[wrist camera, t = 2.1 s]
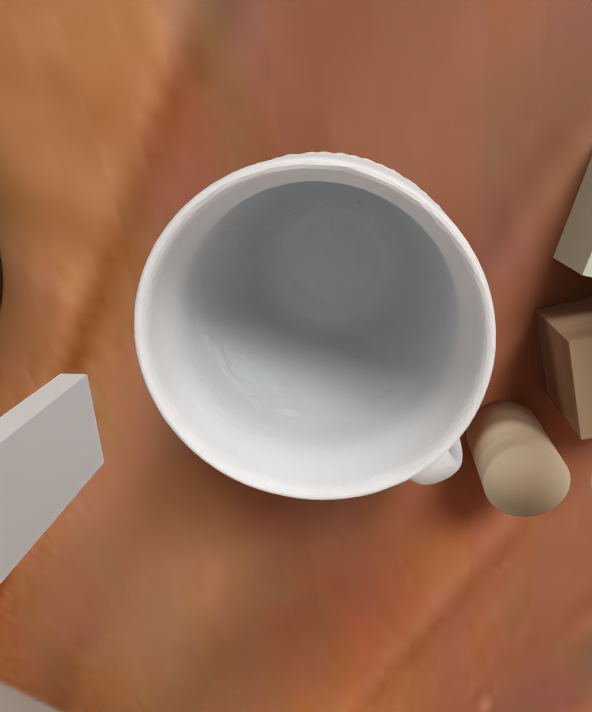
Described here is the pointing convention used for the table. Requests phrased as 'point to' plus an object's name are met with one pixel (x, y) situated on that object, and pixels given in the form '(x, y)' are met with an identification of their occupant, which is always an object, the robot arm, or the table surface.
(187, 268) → the mug
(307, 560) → the table surface
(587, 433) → the walnut block
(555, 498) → the beech cylinder
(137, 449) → the table surface
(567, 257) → the sage block
